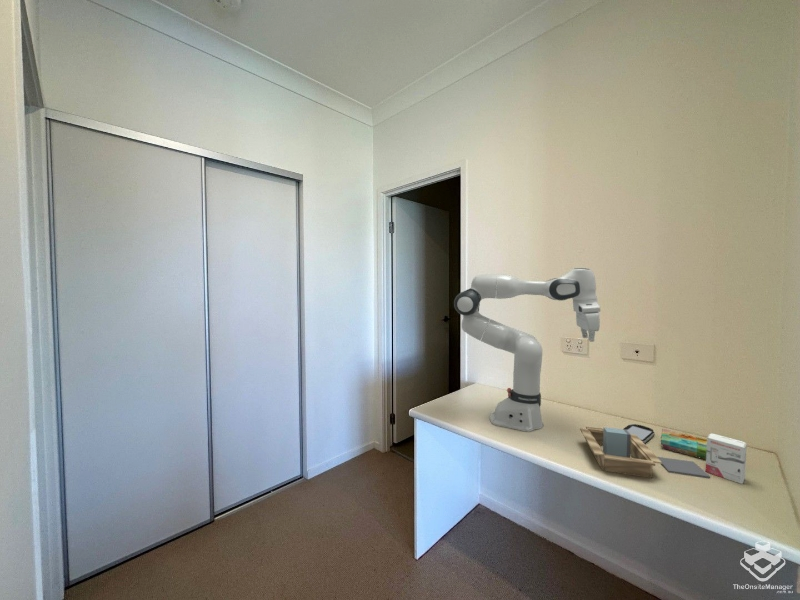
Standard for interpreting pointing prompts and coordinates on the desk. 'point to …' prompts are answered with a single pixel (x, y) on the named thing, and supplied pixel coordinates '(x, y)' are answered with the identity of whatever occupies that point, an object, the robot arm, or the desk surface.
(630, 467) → the brown wooden rectangular frame
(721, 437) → the ink box
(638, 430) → the gaming console
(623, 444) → the block
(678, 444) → the puzzle game
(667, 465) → the mat
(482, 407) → the desk surface
